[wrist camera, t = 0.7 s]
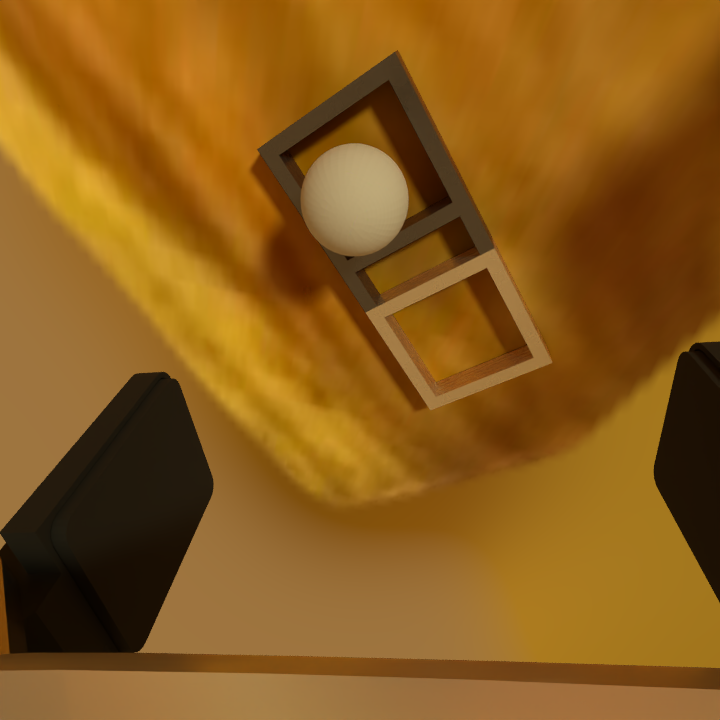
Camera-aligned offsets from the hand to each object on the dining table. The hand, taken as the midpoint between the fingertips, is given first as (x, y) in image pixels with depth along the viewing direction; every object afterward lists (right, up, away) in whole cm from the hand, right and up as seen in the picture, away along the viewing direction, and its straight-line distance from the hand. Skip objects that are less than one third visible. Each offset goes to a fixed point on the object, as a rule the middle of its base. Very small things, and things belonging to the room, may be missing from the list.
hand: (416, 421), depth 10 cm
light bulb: (0, +14, +24) cm, 28 cm away
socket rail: (+3, +9, +27) cm, 28 cm away
